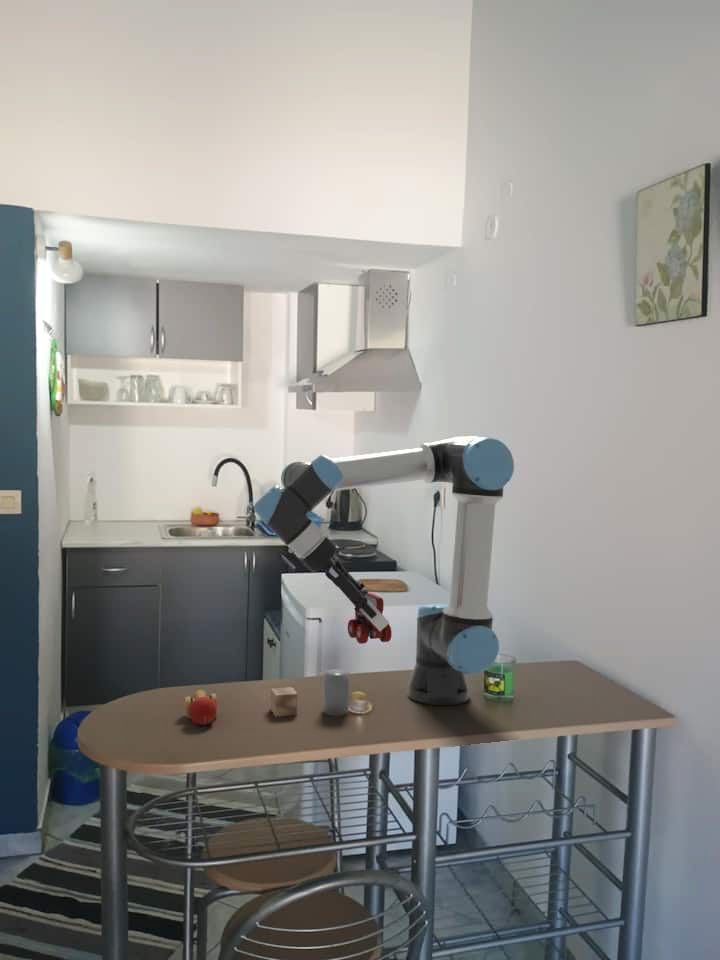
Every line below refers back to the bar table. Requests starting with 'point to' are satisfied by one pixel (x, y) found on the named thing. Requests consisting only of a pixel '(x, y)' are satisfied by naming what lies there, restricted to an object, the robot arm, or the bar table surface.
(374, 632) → the toy fire truck
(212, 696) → the kendama
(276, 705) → the light brown cube
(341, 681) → the light grey cylinder
